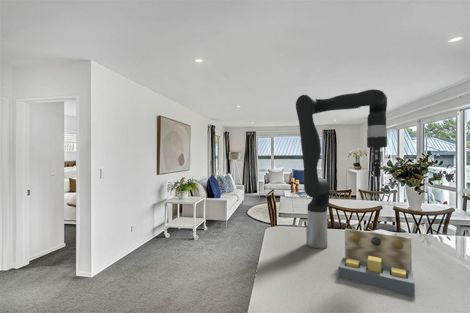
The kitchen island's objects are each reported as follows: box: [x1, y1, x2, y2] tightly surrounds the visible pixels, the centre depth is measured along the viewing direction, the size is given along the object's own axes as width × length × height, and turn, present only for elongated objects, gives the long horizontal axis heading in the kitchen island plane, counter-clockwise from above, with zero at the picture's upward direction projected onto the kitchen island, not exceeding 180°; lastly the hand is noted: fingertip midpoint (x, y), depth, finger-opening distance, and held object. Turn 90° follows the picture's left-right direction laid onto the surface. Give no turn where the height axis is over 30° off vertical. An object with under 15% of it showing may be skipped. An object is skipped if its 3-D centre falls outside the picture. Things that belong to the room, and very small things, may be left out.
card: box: [344, 228, 413, 271], centre depth 95 cm, size 22×4×14 cm, turn 57°
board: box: [337, 257, 416, 297], centre depth 86 cm, size 22×10×4 cm, turn 57°
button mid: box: [368, 256, 382, 273], centre depth 86 cm, size 4×4×5 cm
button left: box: [346, 259, 359, 268], centre depth 89 cm, size 4×4×5 cm
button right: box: [392, 267, 406, 278], centre depth 82 cm, size 4×4×5 cm
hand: (377, 176), depth 105 cm, fingers closed
